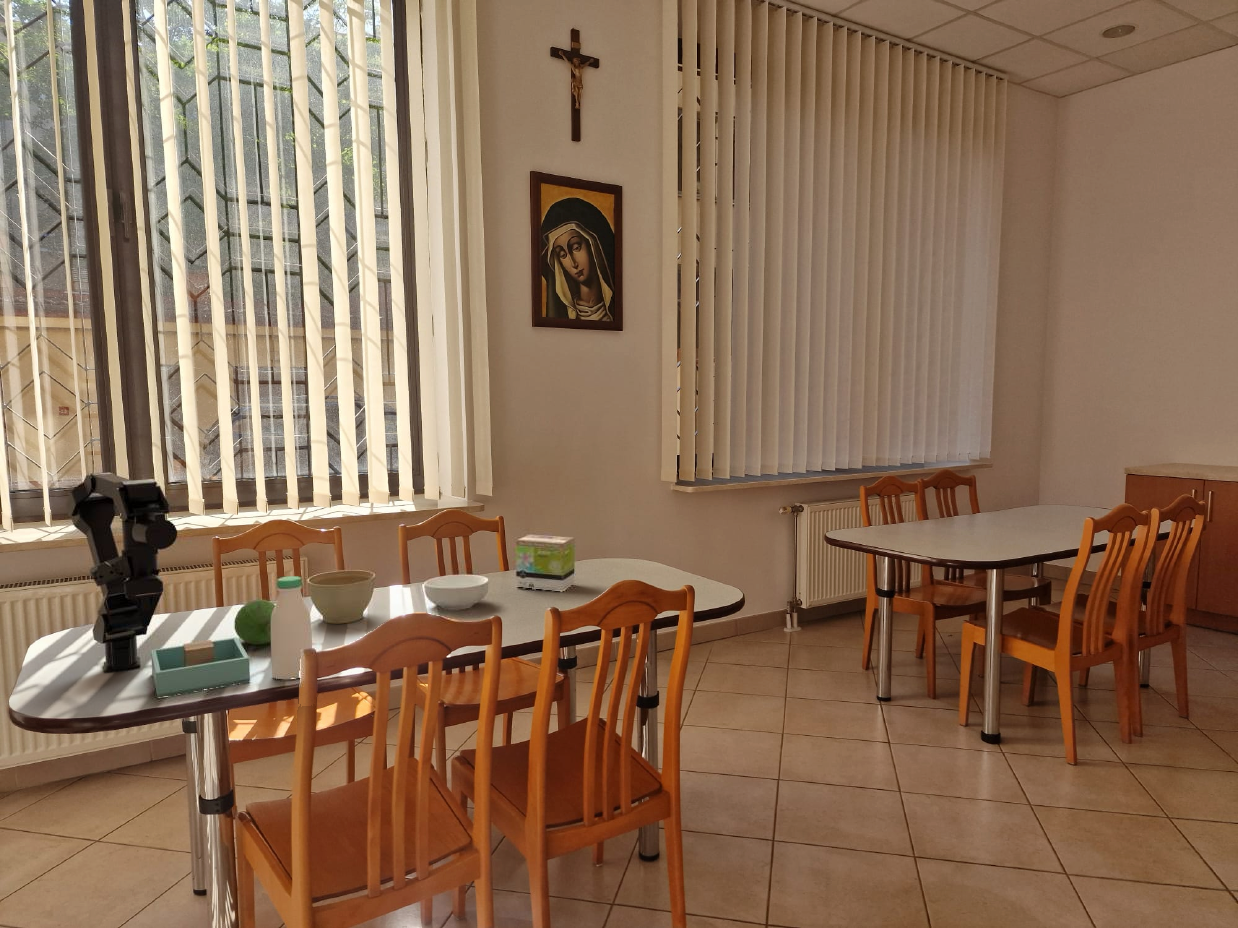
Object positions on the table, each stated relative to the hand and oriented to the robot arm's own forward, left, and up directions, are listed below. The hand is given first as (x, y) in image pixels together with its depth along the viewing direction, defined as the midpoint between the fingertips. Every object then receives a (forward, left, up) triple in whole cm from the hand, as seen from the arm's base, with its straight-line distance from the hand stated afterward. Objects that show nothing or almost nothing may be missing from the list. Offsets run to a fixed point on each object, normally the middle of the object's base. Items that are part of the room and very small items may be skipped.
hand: (144, 620), depth 160 cm
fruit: (-12, +23, -12) cm, 29 cm away
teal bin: (+5, +9, -12) cm, 16 cm away
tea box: (-25, +103, -12) cm, 107 cm away
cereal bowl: (-19, +73, -12) cm, 76 cm away
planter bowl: (-23, +44, -12) cm, 51 cm away
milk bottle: (+13, +25, -12) cm, 31 cm away
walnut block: (+5, +9, -11) cm, 15 cm away
